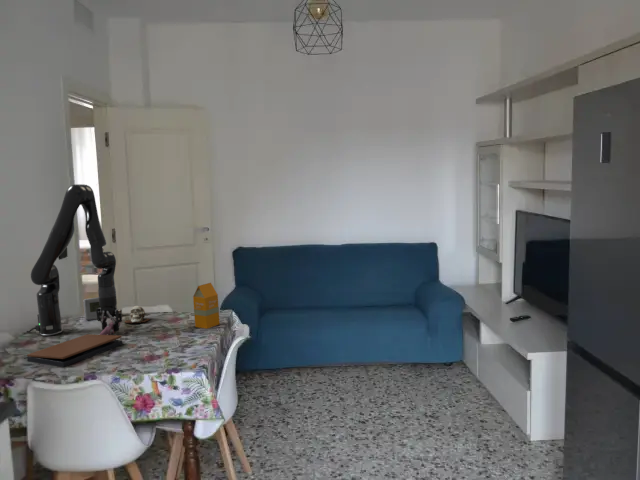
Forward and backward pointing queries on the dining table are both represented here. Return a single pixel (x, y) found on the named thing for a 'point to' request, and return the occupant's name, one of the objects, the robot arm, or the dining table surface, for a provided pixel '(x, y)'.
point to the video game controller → (108, 329)
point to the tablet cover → (74, 346)
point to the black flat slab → (77, 355)
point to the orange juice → (206, 306)
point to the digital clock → (91, 308)
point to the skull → (137, 315)
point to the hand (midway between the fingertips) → (110, 330)
